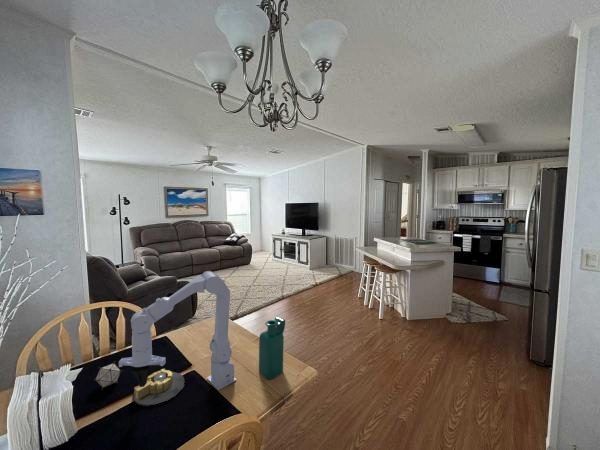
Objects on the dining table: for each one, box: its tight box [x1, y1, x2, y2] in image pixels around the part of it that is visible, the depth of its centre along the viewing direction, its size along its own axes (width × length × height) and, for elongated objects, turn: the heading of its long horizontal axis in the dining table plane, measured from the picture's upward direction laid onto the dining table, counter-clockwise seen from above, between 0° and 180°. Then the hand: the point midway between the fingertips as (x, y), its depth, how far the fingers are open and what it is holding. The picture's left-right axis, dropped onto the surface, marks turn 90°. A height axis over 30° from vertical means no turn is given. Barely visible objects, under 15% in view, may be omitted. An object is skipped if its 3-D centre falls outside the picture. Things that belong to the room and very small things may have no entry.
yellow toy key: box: [135, 368, 173, 399], centre depth 96 cm, size 12×9×4 cm
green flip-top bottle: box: [258, 316, 286, 380], centre depth 109 cm, size 10×8×22 cm
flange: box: [132, 371, 185, 407], centre depth 98 cm, size 17×17×5 cm
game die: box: [93, 360, 124, 391], centre depth 99 cm, size 9×8×10 cm
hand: (143, 384), depth 89 cm, fingers closed
